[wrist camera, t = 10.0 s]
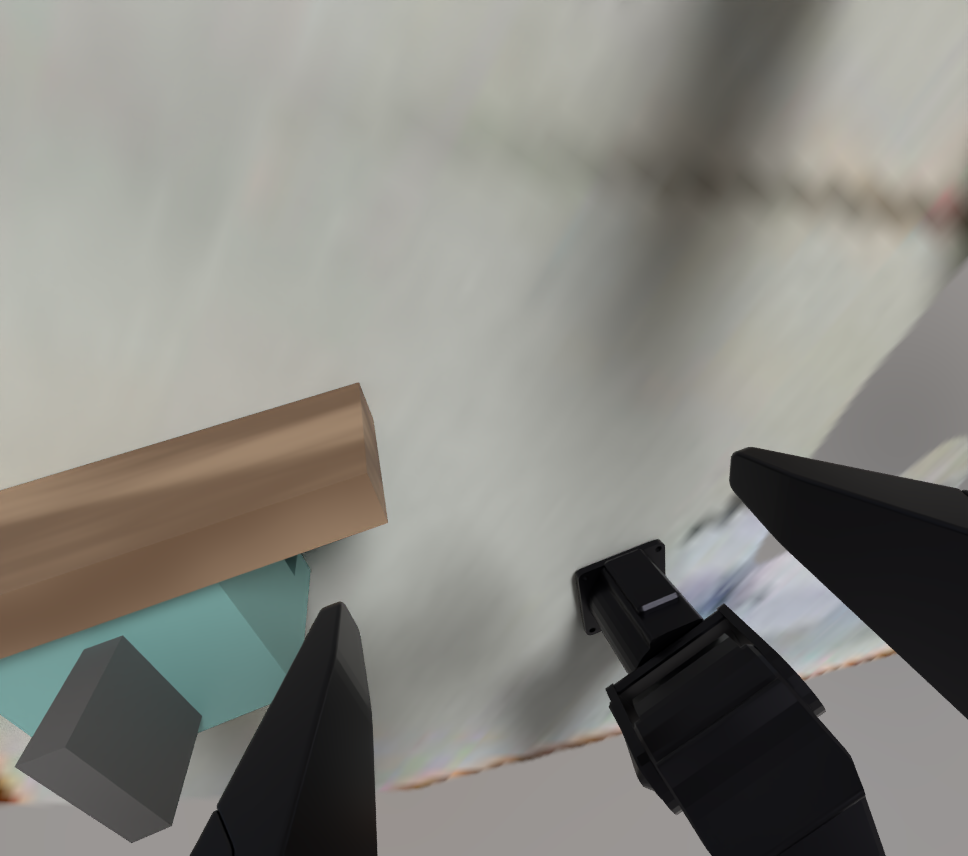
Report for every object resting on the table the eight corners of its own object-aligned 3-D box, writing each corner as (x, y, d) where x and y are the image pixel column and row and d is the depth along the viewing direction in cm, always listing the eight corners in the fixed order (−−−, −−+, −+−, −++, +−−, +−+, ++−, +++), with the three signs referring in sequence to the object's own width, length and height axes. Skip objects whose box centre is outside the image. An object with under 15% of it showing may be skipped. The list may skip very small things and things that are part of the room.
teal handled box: (310, 570, 24) (290, 790, 15) (155, 626, 23) (31, 902, 14) (253, 472, 21) (183, 677, 12) (70, 531, 20) (-167, 811, 10)
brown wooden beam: (401, 494, 23) (426, 614, 16) (-17, 638, 20) (-200, 857, 14) (358, 382, 20) (367, 472, 13) (-145, 534, 17) (-471, 751, 10)
